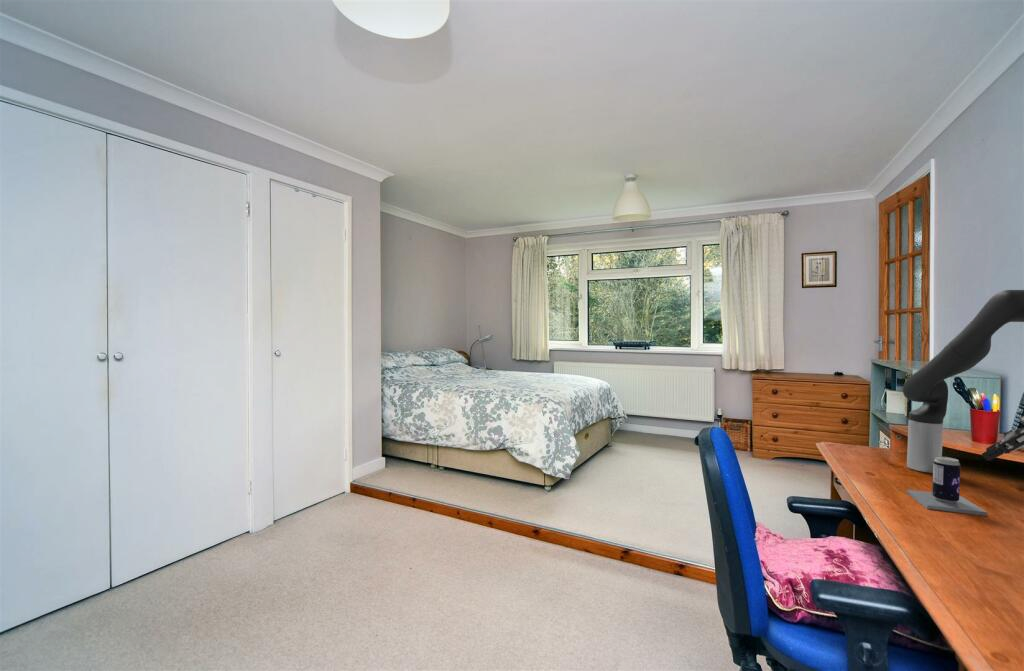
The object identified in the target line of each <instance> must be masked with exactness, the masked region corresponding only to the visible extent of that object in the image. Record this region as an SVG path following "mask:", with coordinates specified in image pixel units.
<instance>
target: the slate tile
mask: <svg viewBox="0 0 1024 671" xmlns="http://www.w3.org/2000/svg"><path fill="white" fill-rule="evenodd" d="M906 494H907V495H908V494H909V495H908V496H910V497H912V498H913V499H914V500H916V501H917V502H918V504H920V505H922V506H923V507H924V508H925V509H928V510H935V511H943V512H952V513H959V514H969V515H976V516H984V517H987V516H988V512H987V511H986V510H984V509H983V508H981V507H979V506H978V505H977V504H975V503H973V502H971V501H970V500H968V499H967V498H965V497H964V496H961V495H959V500H958V501H956V502H955V503H947V502H943V501H939V500H937V499H936V498H935V497H934V496H933V495H932V492H931V491H923V490H922V491H921V490H920V491H919V490H913V489H912V490H911V489H906Z"/></svg>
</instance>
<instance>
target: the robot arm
mask: <svg viewBox="0 0 1024 671" xmlns="http://www.w3.org/2000/svg"><path fill="white" fill-rule="evenodd" d="M979 310H980V311H979V312H978V313H976V315H975V317H974V318H973V319H972V320H971V321H970V322H969V323H968V324H966V326H965V327H964V328H963V329H962V330H961V331H960V332H959V333H958V334H957V335H956V336H955V337H954V338H953V339H951V341H950V342H948V343H947V344H946V345H945V346H944V347H943V348H942V349H941V350H940V352H938V353H937V354H936V356H934V357H933V358H932V359H930V361H929V362H927V363H926V364H925V365H924V366H923V367H921V368H920V369H918V370H917V371H916V372H915V373H913V374H911V375H910V376H909V377H908V378H907V379H906V380H905V382H904V383H903V385H902V386H903V387H902V394H903V395H904V397H905V398H906V399H907V400H909V401H912V402H916V403H922V405H921V406H920V407H918V408H916V409H914V410H911V411H909V413H908V423H907V424H908V426H907V427H908V429H907V430H908V431H907V452H906V467H907V468H908V469H911V470H914V471H918V472H922V473H930V474H933V464H934V460H935V459H936V457H937V456H942V457H943V434H944V431H943V430H944V419H945V417H946V415H947V408H948V402H949V401H948V400H949V387H948V384H947V381H945V380H947V379H949V378H951V377H954V376H957V375H959V374H962V373H964V372H967V371H969V370H971V369H972V368H974V367H975V366H977V365H978V364H979V363H980V362H981V361H982V360H984V359H985V358H986V357H987V356H988V354H989V353H990V351H991V347H992V337H993V335H994V334H995V333H996V332H997V331H998V330H1000V329H1001V328H1002V327H1004V326H1005V325H1006V324H1009V323H1011V322H1012V323H1024V289H1007V290H1006V289H1004V290H1001V291H999V292H997V293H995V294H994V295H993V296H991V297H990V298H989V299H988V301H986V303H984V305H983V306H982V308H981V309H979ZM1018 421H1019V422H1020V424H1021V425H1023V426H1022V427H1020V428H1015V429H1013V430H1011V431H1010V432H1009V433H1007V434H1005V435H1004V436H1003V438H1000V439H999V441H997V442H996V443H994V444H992V445H990V446H988V447H986V448H985V451H984V452H982V453H981V456H982V457H983V458H984V459H985V460H986V461H988V462H991V461H992V460H994V459H996V458H998V457H1000V456H1002V455H1007V454H1011V452H1012V451H1013V452H1014V451H1017V450H1019V449H1021V448H1022V447H1024V415H1023V416H1021V417H1019V419H1018Z"/></svg>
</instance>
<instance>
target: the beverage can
mask: <svg viewBox="0 0 1024 671" xmlns="http://www.w3.org/2000/svg"><path fill="white" fill-rule="evenodd" d="M961 467H962V466H961V463H960V461H959V459H957V458H953V457H949V456H943V455H942V456H937V457H936V459H935V460H934V464H933V473H932V490H931V491H932V492H931V493H932V495H933V496H934V497H935V498H936V499H937V500H939V501H943V502H947V503H955V502H956V501H958V500H959V496H960V493H961V492H960V490H961V489H960V488H961V486H960V485H961Z"/></svg>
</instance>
